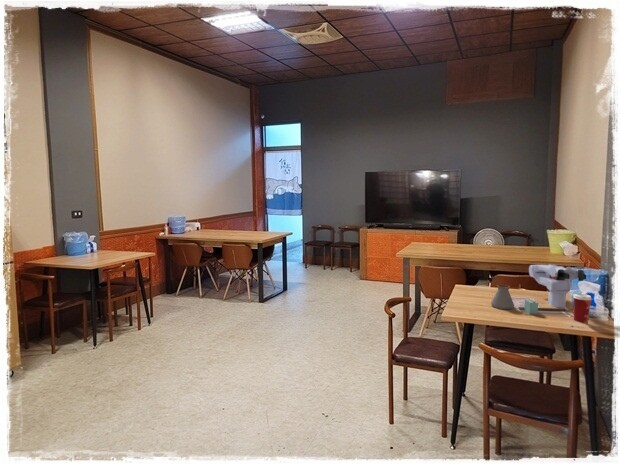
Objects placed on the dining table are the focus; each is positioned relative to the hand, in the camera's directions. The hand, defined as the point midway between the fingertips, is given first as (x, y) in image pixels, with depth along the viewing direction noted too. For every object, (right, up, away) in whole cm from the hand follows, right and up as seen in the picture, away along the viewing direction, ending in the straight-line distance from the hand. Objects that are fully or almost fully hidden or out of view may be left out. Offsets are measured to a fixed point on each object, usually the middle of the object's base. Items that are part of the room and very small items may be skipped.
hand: (577, 276), depth 213 cm
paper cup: (-1, -23, -4) cm, 23 cm away
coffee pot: (-28, -19, +24) cm, 42 cm away
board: (-11, -21, +8) cm, 25 cm away
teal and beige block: (-18, -19, +9) cm, 28 cm away
